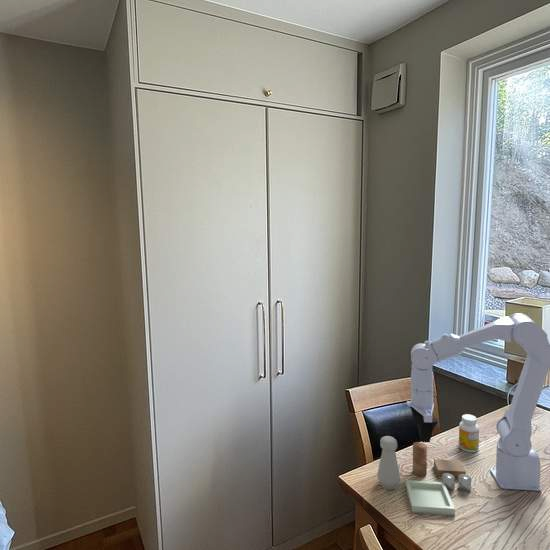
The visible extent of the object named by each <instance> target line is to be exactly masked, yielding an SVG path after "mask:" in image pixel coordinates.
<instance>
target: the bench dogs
mask: <svg viewBox="0 0 550 550" xmlns="http://www.w3.org/2000/svg"><path fill="white" fill-rule="evenodd" d="M455 479H456V478H455V477H454V476H453V475H452V474H449V473H444V474H442V478H441V482H444V483H445V486H446V488H447V491H448V492H453V491H454V490H455V481H456V480H455ZM457 481H458V482H457V488H458V489H459V491H461V492H463V493H470V492H471V491H472V477H471V476H470V475H468V474H467V473H466V474H460V475H458V480H457Z"/></svg>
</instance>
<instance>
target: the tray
mask: <svg viewBox="0 0 550 550" xmlns="http://www.w3.org/2000/svg"><path fill="white" fill-rule="evenodd" d="M404 482H405V484H404V485H405V490H406V494H407V498H408V502H409V506H410V508H411V513H412V514H422V515H437V516H450V517H451V516H452V517H455V516H456V508H455V506H454V503H453V500H452V498H451V495H450V493H449V491H447V488H446V486H445V483H444V482H442V481H425V480H424V481H423V480H412V479H411V480H409V479H408V480H407V479H405V481H404Z"/></svg>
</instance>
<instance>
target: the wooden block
mask: <svg viewBox="0 0 550 550" xmlns="http://www.w3.org/2000/svg"><path fill="white" fill-rule="evenodd" d="M433 468H434V470H435V473H436V476H437V478H439V477H442V474H444V473H449V474H452V475H453V476H454V477H455V479H458V475H460V474H466V475H467V470H466V469H465V467H464V465H463V463H462V462H461V460H457V459H442V458H441V459H439V458H438V459H437V458H433Z"/></svg>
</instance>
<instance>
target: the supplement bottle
mask: <svg viewBox="0 0 550 550" xmlns="http://www.w3.org/2000/svg"><path fill="white" fill-rule="evenodd" d="M477 423H478V419H477V417H476V416H475V415H473V414H469V413H465V414H463V415H462V416H461V421H460V422H459V425H458V427H459V431H458V446H459V448H460V449H461V450H462V451H464V452H468V453H476V452H477V451H478V450H479V445H480V442H479V441H480V427H479V425H478V424H477Z"/></svg>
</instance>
